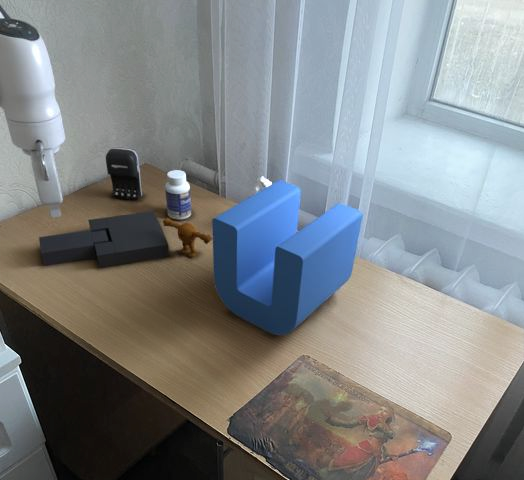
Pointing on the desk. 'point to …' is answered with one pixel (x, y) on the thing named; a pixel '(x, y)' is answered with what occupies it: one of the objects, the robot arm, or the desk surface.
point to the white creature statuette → (261, 184)
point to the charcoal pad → (70, 246)
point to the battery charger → (124, 173)
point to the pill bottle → (178, 195)
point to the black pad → (130, 239)
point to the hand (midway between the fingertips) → (53, 203)
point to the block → (281, 257)
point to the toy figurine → (187, 236)
